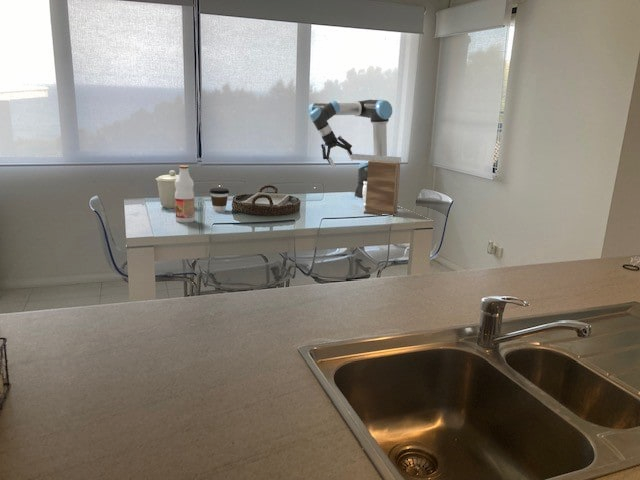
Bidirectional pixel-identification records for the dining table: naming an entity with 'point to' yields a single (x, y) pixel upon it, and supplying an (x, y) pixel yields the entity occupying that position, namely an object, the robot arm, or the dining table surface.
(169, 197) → the canister
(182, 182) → the fruit juice
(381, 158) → the steel bar
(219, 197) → the coffee cup
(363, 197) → the jar
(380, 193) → the walnut tower
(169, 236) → the dining table surface
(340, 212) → the dining table surface
